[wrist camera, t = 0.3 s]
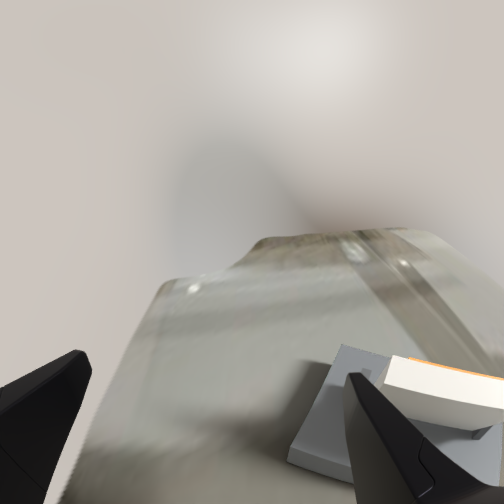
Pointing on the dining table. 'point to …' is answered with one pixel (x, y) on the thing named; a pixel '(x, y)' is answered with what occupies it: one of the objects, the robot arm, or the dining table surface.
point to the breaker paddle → (442, 394)
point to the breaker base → (444, 438)
